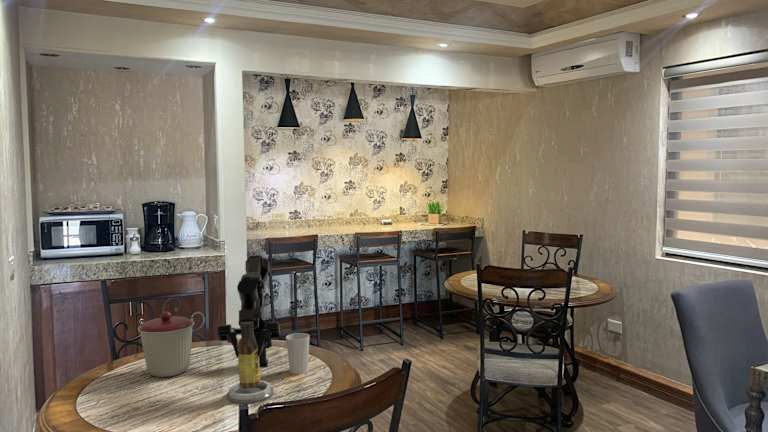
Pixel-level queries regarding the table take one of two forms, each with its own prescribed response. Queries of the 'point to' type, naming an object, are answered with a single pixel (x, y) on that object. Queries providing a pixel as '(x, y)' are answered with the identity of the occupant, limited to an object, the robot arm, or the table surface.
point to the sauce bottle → (248, 356)
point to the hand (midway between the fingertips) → (248, 356)
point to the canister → (167, 344)
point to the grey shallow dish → (250, 393)
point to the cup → (298, 352)
